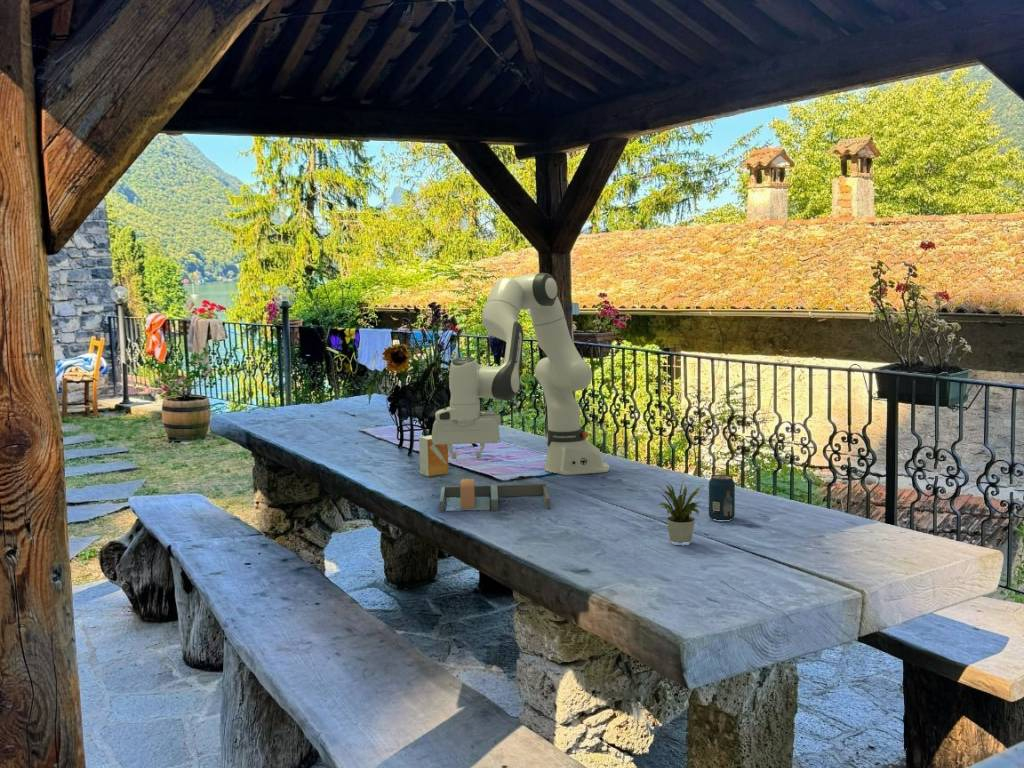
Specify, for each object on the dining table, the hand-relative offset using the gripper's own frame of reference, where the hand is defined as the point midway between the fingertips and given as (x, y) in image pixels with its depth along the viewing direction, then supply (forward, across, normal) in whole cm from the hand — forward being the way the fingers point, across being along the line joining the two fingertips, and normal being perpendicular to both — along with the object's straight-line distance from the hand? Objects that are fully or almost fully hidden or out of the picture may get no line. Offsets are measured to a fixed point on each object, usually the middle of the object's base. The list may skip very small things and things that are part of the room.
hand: (466, 458), depth 275 cm
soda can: (+14, -70, +25) cm, 76 cm away
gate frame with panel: (+14, -8, 0) cm, 16 cm away
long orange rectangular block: (+14, 0, 0) cm, 14 cm away
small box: (+14, +12, -43) cm, 47 cm away
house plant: (+14, -53, +45) cm, 71 cm away
